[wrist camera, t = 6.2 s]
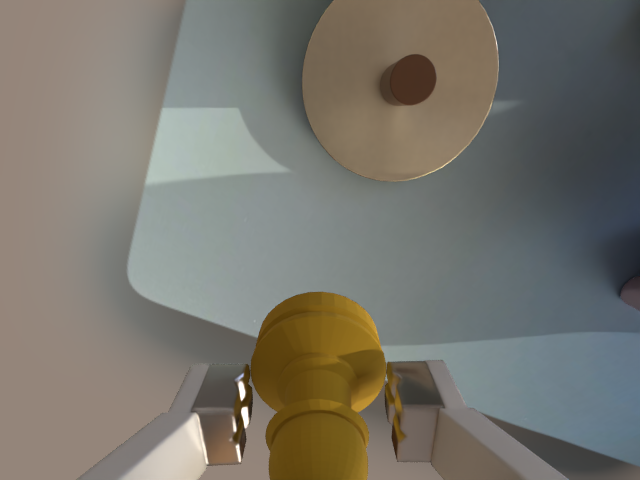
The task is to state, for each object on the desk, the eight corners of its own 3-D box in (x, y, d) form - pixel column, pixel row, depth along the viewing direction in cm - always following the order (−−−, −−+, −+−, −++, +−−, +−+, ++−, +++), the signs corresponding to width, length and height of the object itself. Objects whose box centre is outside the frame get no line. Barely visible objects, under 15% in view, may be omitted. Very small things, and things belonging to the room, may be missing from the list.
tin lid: (298, -25, 21) (292, -60, 16) (505, -31, 21) (555, -68, 16) (306, 180, 25) (303, 195, 21) (475, 176, 25) (508, 190, 21)
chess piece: (392, 372, 11) (443, 554, 7) (284, 402, 12) (263, 590, 7) (358, 274, 10) (392, 420, 5) (237, 312, 11) (173, 476, 6)
